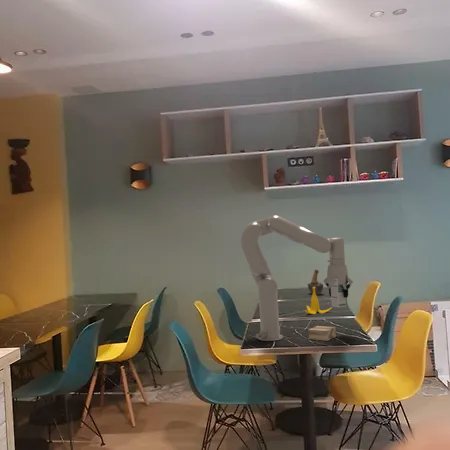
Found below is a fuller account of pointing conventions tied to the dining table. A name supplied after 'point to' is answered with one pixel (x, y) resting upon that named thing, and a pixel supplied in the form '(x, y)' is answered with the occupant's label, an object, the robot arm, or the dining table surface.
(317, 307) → the banana peel
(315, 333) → the beech block
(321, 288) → the mortar and pestle
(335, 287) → the syrup box
